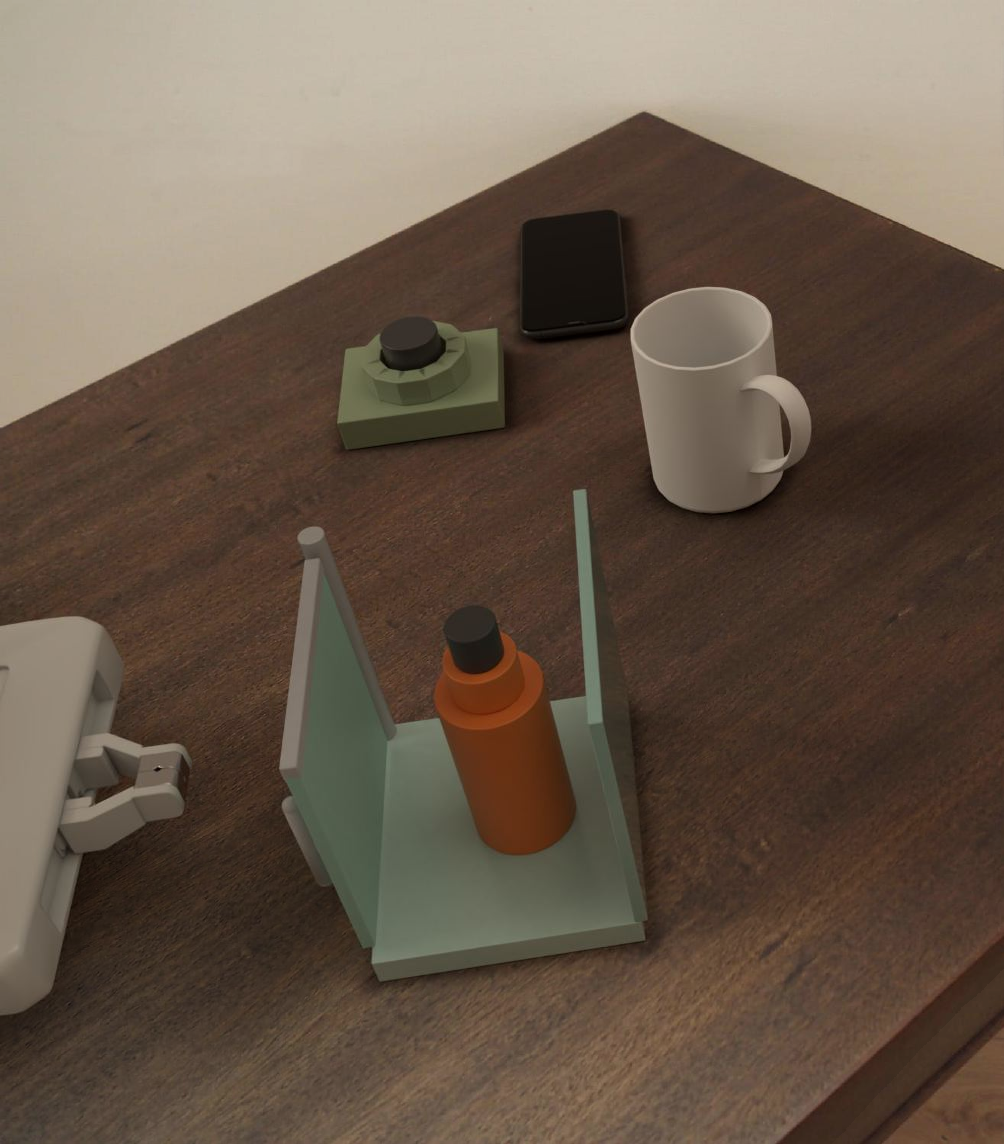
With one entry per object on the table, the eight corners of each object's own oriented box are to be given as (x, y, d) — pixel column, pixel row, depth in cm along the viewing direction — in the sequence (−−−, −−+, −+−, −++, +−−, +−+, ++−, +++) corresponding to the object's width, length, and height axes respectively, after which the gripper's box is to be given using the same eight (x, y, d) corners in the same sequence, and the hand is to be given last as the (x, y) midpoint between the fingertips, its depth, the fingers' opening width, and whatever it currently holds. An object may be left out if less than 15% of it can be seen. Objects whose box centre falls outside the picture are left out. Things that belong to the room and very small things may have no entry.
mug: (627, 473, 94) (601, 328, 87) (727, 413, 98) (710, 270, 90) (759, 571, 87) (743, 423, 80) (862, 503, 91) (855, 355, 83)
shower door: (335, 953, 69) (248, 774, 60) (351, 745, 77) (277, 563, 69) (377, 946, 69) (296, 766, 60) (388, 740, 78) (319, 557, 69)
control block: (346, 450, 98) (328, 399, 95) (353, 375, 104) (337, 325, 101) (505, 428, 98) (492, 376, 96) (504, 354, 104) (492, 303, 101)
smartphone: (521, 228, 115) (520, 344, 104) (519, 218, 115) (518, 334, 104) (621, 215, 116) (630, 330, 105) (619, 205, 115) (629, 320, 104)
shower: (365, 984, 70) (266, 772, 59) (381, 744, 80) (298, 527, 70) (652, 939, 70) (602, 721, 60) (631, 707, 81) (585, 486, 70)
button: (384, 376, 97) (377, 353, 96) (387, 343, 100) (380, 320, 98) (442, 368, 97) (436, 345, 96) (443, 335, 100) (437, 312, 99)
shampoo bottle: (475, 862, 72) (409, 673, 63) (476, 782, 76) (413, 591, 67) (578, 847, 73) (527, 655, 64) (574, 767, 76) (525, 575, 67)
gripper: (-242, 990, 60) (120, 935, 61) (-100, 617, 75) (191, 575, 75) (-163, 1072, 64) (174, 1020, 65) (-43, 704, 79) (231, 664, 80)
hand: (184, 778), depth 70 cm, fingers closed
